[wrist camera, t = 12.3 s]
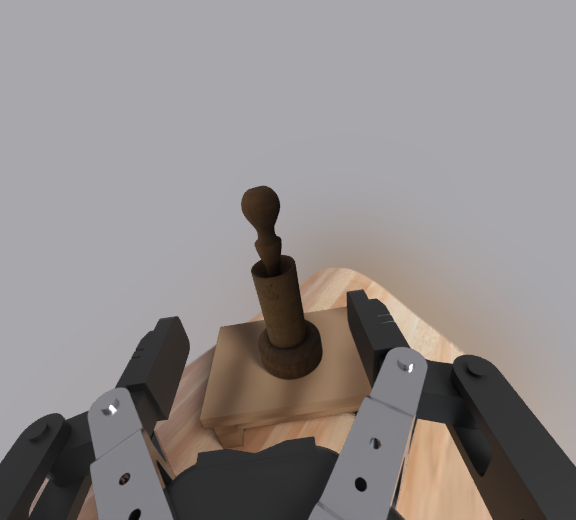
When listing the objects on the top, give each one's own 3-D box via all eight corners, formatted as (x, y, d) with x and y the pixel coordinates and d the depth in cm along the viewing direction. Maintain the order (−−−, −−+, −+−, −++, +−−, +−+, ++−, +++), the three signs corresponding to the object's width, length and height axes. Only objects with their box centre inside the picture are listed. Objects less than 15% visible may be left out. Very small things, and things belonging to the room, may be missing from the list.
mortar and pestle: (251, 374, 28) (196, 204, 19) (274, 329, 33) (238, 179, 24) (315, 385, 26) (284, 199, 17) (328, 335, 31) (309, 173, 22)
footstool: (218, 455, 27) (199, 419, 24) (232, 359, 38) (220, 327, 35) (397, 427, 27) (399, 388, 24) (361, 338, 38) (359, 304, 35)
